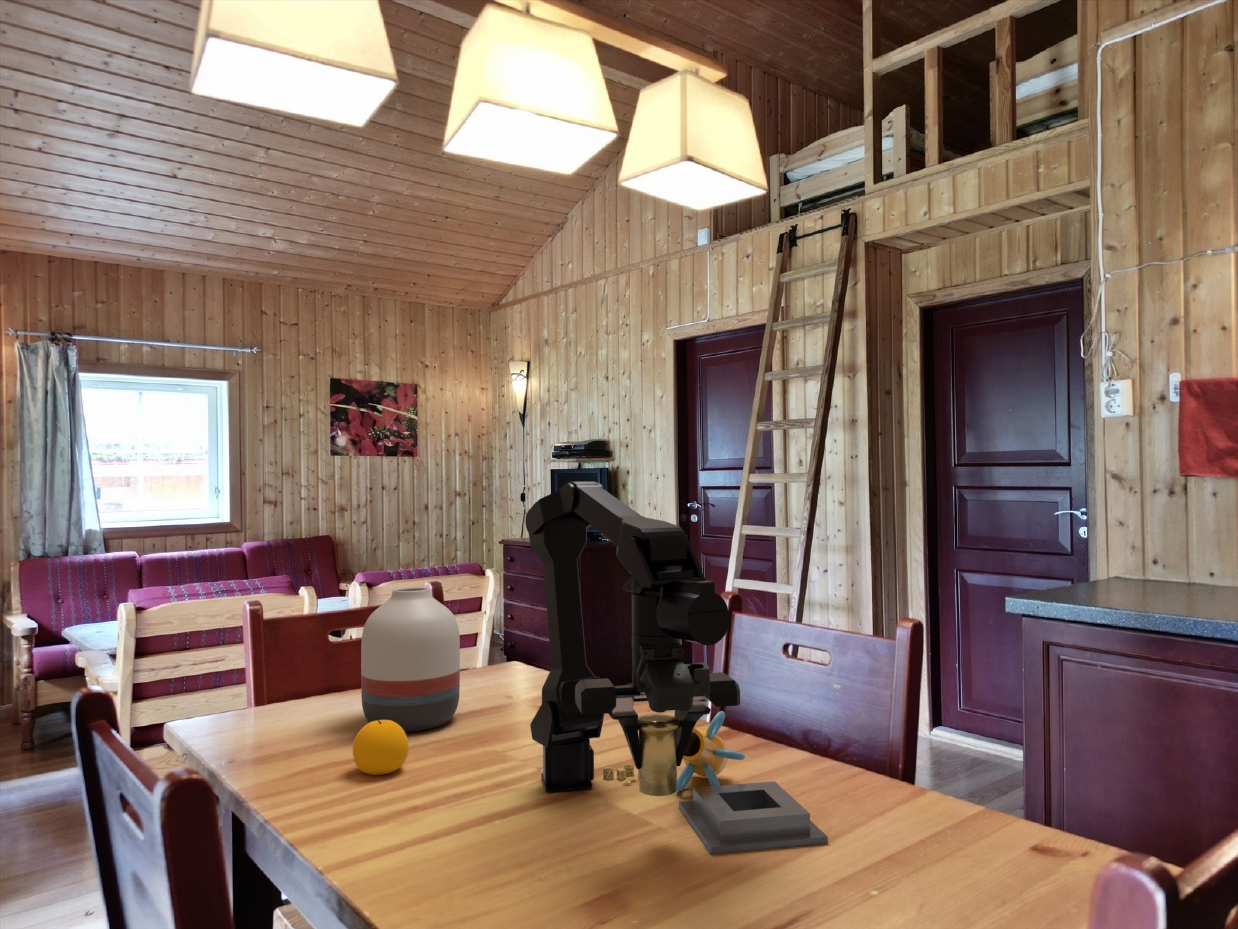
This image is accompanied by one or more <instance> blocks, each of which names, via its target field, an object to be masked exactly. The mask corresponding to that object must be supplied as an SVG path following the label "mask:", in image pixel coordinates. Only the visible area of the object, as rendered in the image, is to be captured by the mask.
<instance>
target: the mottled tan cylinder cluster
mask: <svg viewBox="0 0 1238 929" xmlns="http://www.w3.org/2000/svg"><path fill="white" fill-rule="evenodd" d="M602 769H603V770H602V771H603V773H602V776H603V778H602V779H603V780H605V781H606V780H607V781H610V780H613V779H614V775H615V774H614V773H615V772H614V767H612V766H605V767H603V768H602ZM637 772H638V773H637V774H638V777H636V776H634V775H635V764H633V763H625V764H623V767H620V768H616V780H617V781H618V780H619V781H623V786H631V783H637V780H639V769H637ZM627 777H628V778H627ZM637 778H638V779H637Z"/></svg>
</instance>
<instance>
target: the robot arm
mask: <svg viewBox="0 0 1238 929" xmlns="http://www.w3.org/2000/svg"><path fill="white" fill-rule="evenodd" d="M525 515H526V516H525V527H526V530H527V532H528V537H529V538H528V540H529V544H530V548H531V549H532V551H533V552H534V554H535V555H536V556H537V558H538V559H539V560H540V562H541V564H542V566H543V576H544V588H545V589H544V590H545V601H546V613H547V614H546V615H547V626H548V627H547V628H548V637H549V638H548V639H549V650H550V662H551V668H550V671H549V672H548V675H547V676H546V679H545V681H544V684H543V686H542V688H541V704H540V706H539V709H537V712H536V714H535V715H534V717H533V718H532V720H531V722H530V733H531V739H532V740H533V741H534V742H536V743H538V744H540V745H541V746H542V773H541V775H540V776H541V777H540V778H541V781H542V785H543V788H544V791H545V792H547V793H552V792H564V791H579V790H590V789H591V790H592V789H593V786H594V785H593V782H592V781H593V780H594V779H595V751H594V749H593V746H592V745H591V743H590V741H591V739H599V738H601V733H602V729H603V725H604V720H605V714H606V715H609V716H610V718H611V719H612V720H615V721H618V723H619V724H620V727H621V728H622V731H623V733H624V737H625V739H626V743H627V745H628V748H629V751H630V754H631V757H632V761H633V763H634V764H633V765H634V768H636V770H638V769H640V768H641V754H640V745H639V730H638V726H637V724H638V717H639V715H638V714H639V713H638V712H636V711H635V709H634V703H636V702H637V703H638V702H641V703H642V702H648V706H649V708H650V710H651V711H652V712H655V713H661V714H662V713H665V712H666V711H667V712H668V711H674V715H673V716H675V717H677V718H679V720H680V728H679V729H678V730H677V731H676V743H677V767H681V765H682V762H683V756H684V753H685V750H686V747H687V744H688V741H689V738H690V735H691V733H692V731H693V728H695V726H696V724H697V723H698V721H699V720H700V719H701V718H702V717H703V716H704V715H710V713H711V710H712V709H711V708H710V707H709V706H708V702H710V703H711V704H712V705H713V706H714V707H715V708H720V707H721V708H723V707H724V708H725V707H736V706H737V707H738V706H740V705H741V689H740V685H739V684H738V682H737V681H736V680H734V679H733V678H732V677H730V676H729V675H727V674H726V673H724V672H722V671H721V672H711V671H710V667H709V665H708V662H693V663H690V664H689V663H686V660H685V657H684V649H683V646H684V645H683V644H682V641H686V642H690V643H693V644H697V645H700V646H706V647H707V646H713V645H716V644H717V643H719V642H720V641H721V640H723V638H724V637H725V636H726V634H727V632H728V630H729V628H730V624H731V612H730V610H729V608H728V604H727V603H726V601H725V599H724V598H723V596H721V595H720V594H718V593H716V588H715V587H716V586H715V581H712V580H706V577H705V575H704V572H703V570H704V569H703V567H702V565H701V564H700V563H699V561H698V559H697V557H696V555H695V552H694V550H693V547H692V546H691V544H690V541H689V539H688V538H687V537H688V535H687V534H686V532H685V530H684V529H683V528H682V527H681V526H679V525H676V524H674V523H671V522H668V521H665V520H660V519H655V518H651V517H646V516H644V515H641V514H640V513H639V512H637V511H636V510H634V509H632V508H631V507H630V506H628V505H627V504H625V502H623V501H621V500H620V499H618V498H617V497H615V495H613V494H611V493H609V491H607V490H606V489H604V487H603V485H602V484H601V483H599V482H596V481H593V480H592V481H585V480H583V481H581V480H580V481H579V480H578V481H570V482H568V483H565V484H563V485H562V486H561V487H560V489H558V490H556V491H554V492H552V493H550V494H548V495H545V496H543V497H541V498H539V499H538V500H537V501H536V502H534V503H533V505H532V506H531V507H530V508H529V509H528V510H527V513H526V514H525ZM590 527H593V529H595V530H596V531H597V532H599V533H600V534H601V535H602V536H604V537H605V538H607V539H608V540H609V541H610V542H612V543H613V545H614V546H615V547H616V558H617V559H618V561H619V562H620V563H621V564H622V566H624V568H625V569H626V570H627V571H628V573H629V574H630V575H632V576H631V577H630V578H629V579H628V580H627V581H625V583H624V584H623V586H622V589H623V591H625V592H631V631H632V632H631V649H632V650H631V652H632V654H631V655H632V656H631V657H632V672H631V682H632V684H631V685H615V686H614V684H613V683H612V681H611V680H610V679H609V678H607V677H605V678H602V677H601V676H595V674H594V673H593V672H592V670H591V669H590V667H589V666H588V663H587V657H586V654H587V653H586V644H585V633H584V619H583V610H582V609H583V608H582V597H581V596H582V595H581V588H580V587H581V586H580V585H581V584H580V576H579V575H580V573H579V562H578V561H579V559H580V557H581V554H582V552H583V550H584V549H585V546H586V545H587V542H588V529H589V528H590Z"/></svg>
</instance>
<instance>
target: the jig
mask: <svg viewBox="0 0 1238 929" xmlns="http://www.w3.org/2000/svg"><path fill="white" fill-rule="evenodd" d="M692 799H693V800H687V801H686V800H685V801H678V809H679V811H680V813H681V814H682V815H683V816H684V818H685V819H686V820H687V822H688V824H689V825H690V827H691V828H692V829H693V831H694V833H695V834H696V835H697V837H698V838H699V839H700V841H701V842H702V843H703V845H704V847H705V848H706V850H707V851H708V852H709V854H710V855H711V856H713V855H722V854H723V855H724V854H733V853H745V852H754V851H765V850H767V851H768V850H775V849H786V848H787V849H788V848H797V847H808V846H817V845H818V846H819V845H827V844H829V837H828V835H827V834H826V833H825V832H823V831H822V829H821V828H819V827H818V826H817V825H816V824H815V823H814V822H813V821H812V820H811V814H810V812H809V811H808V810H807V809H806V808H805V807H804V806H802V805H801V804H800V802H798V801H797V800H796V799H795V798H794V797H792V796H791V795H790V794H789V793H788V792H787V791H786V790H785V789H784V788H783V787H782V786H781V785H779V784H778V783H777V781H774V780H773V781H763V782H750V783H736V784H735V783H734V784H722V785H720V786H711V785H709V786H699V787H693V788H692Z"/></svg>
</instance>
